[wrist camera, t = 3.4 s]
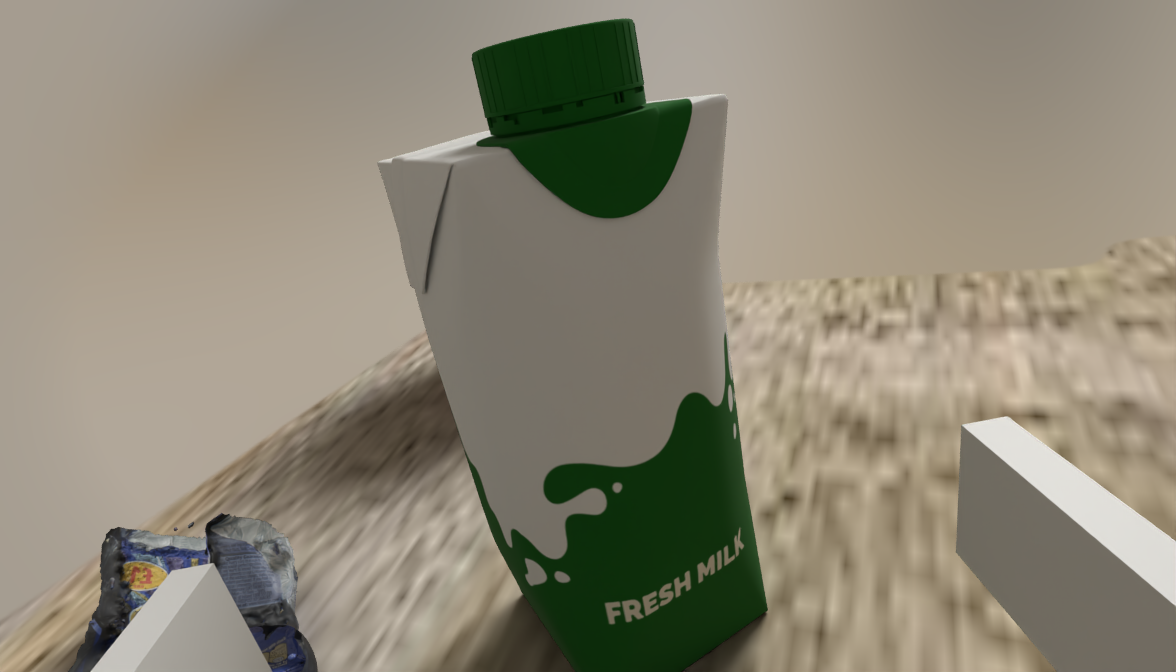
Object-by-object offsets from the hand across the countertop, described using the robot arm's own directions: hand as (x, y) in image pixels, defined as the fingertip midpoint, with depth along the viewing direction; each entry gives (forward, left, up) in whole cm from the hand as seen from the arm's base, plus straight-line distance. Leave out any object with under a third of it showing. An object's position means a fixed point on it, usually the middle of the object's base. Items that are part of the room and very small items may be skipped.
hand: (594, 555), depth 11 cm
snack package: (+19, +10, -12) cm, 24 cm away
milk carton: (+8, -5, -11) cm, 15 cm away
